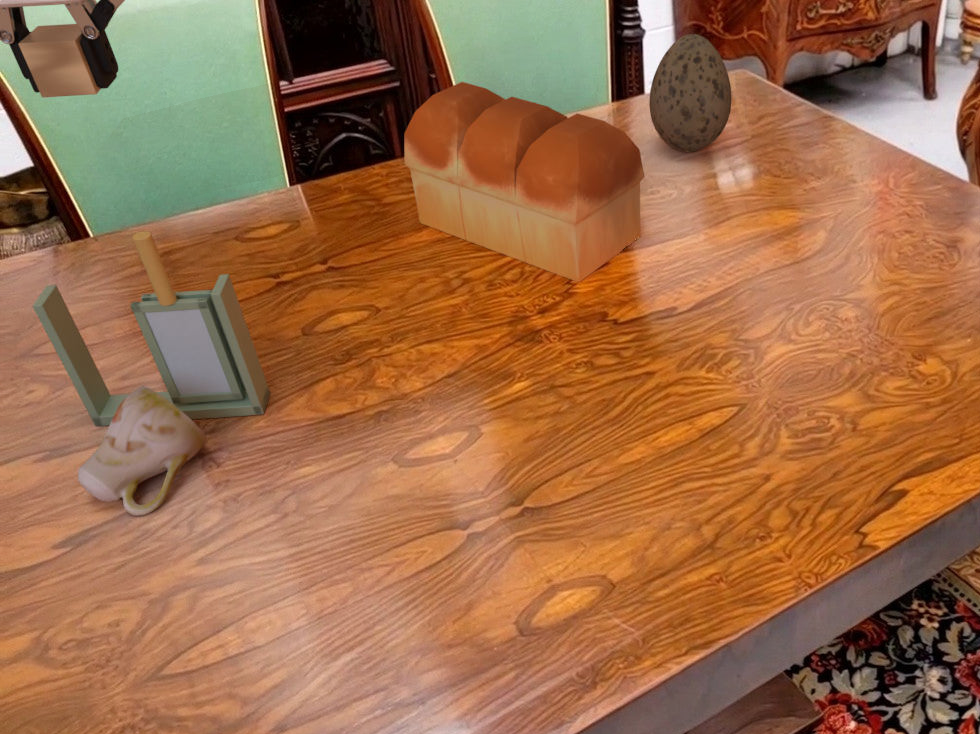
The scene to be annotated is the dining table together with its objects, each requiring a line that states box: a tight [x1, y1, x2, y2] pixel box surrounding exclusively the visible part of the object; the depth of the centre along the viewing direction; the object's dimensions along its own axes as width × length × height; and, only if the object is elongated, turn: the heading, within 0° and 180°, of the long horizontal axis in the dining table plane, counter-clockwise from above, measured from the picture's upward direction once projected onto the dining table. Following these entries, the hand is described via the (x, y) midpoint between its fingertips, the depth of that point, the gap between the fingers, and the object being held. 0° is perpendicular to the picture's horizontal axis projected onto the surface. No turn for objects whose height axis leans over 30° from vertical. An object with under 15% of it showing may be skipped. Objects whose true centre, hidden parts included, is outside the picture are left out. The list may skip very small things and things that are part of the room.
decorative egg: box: [648, 33, 733, 153], centre depth 122 cm, size 11×11×15 cm
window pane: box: [130, 230, 244, 404], centre depth 80 cm, size 6×1×17 cm, turn 96°
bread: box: [403, 81, 645, 283], centre depth 106 cm, size 25×12×15 cm, turn 55°
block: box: [18, 23, 101, 98], centre depth 78 cm, size 4×4×4 cm
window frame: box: [32, 273, 271, 427], centre depth 82 cm, size 15×3×13 cm, turn 96°
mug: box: [77, 385, 208, 516], centre depth 78 cm, size 8×10×10 cm
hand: (76, 82), depth 79 cm, fingers closed on block, 4 cm apart
